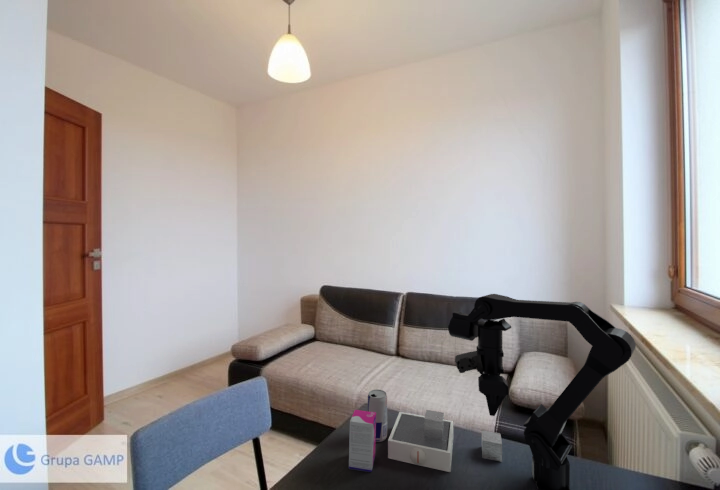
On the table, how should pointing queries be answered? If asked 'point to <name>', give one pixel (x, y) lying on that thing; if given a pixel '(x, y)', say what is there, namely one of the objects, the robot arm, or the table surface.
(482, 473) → the table surface
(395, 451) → the base
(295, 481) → the table surface
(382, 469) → the table surface
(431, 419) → the block
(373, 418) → the supplement box
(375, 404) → the energy drink
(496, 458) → the block
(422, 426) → the pan
